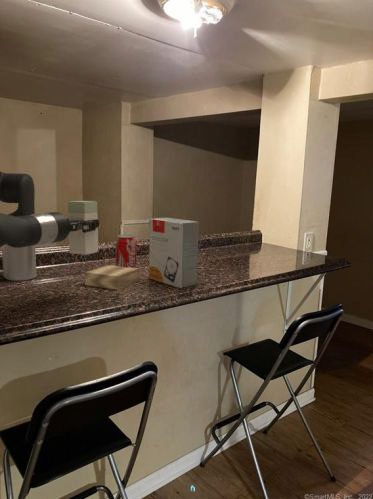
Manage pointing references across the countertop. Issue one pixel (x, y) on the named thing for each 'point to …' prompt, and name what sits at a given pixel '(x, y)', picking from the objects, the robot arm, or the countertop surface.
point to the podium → (112, 277)
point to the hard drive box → (173, 251)
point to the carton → (81, 240)
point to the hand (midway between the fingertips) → (89, 222)
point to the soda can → (126, 251)
